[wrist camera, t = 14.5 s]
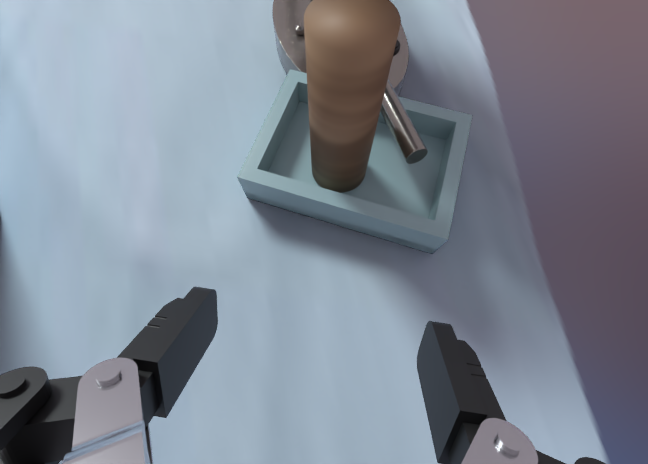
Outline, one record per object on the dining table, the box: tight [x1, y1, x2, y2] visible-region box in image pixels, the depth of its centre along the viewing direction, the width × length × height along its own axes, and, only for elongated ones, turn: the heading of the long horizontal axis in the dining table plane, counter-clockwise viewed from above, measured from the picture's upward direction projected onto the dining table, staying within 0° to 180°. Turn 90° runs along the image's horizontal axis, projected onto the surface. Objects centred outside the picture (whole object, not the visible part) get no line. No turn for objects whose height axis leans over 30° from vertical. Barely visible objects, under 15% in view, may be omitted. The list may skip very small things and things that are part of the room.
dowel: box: [304, 0, 401, 193], centre depth 18 cm, size 4×4×11 cm
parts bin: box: [237, 69, 473, 254], centre depth 23 cm, size 10×14×3 cm
